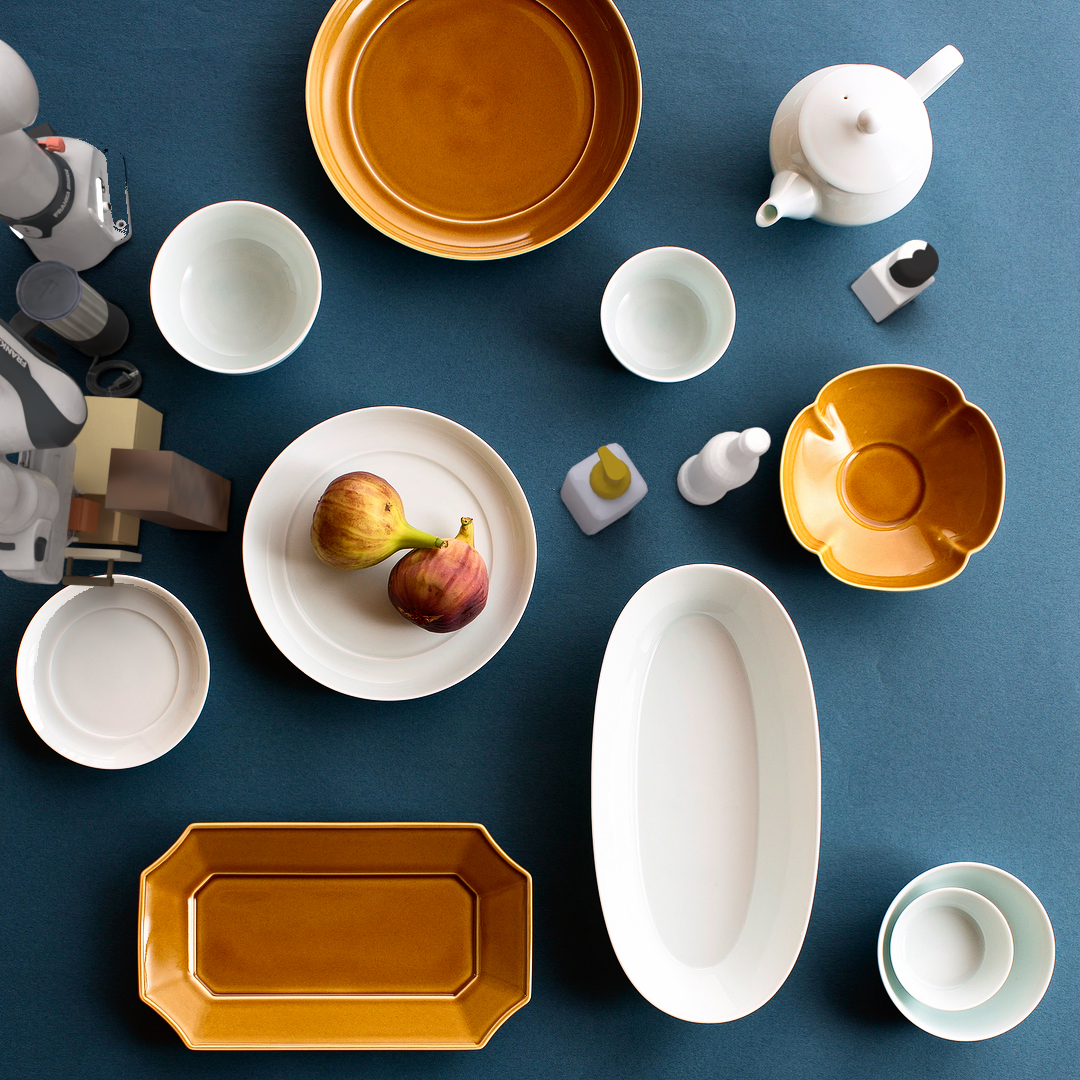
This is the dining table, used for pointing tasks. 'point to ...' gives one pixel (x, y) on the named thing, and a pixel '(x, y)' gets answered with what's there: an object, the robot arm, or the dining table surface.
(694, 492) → the bottle
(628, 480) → the soap bottle
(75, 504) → the block
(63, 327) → the milk frother
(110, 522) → the drawer
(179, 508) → the stand
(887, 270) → the container
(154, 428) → the cabinet
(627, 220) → the dining table surface
